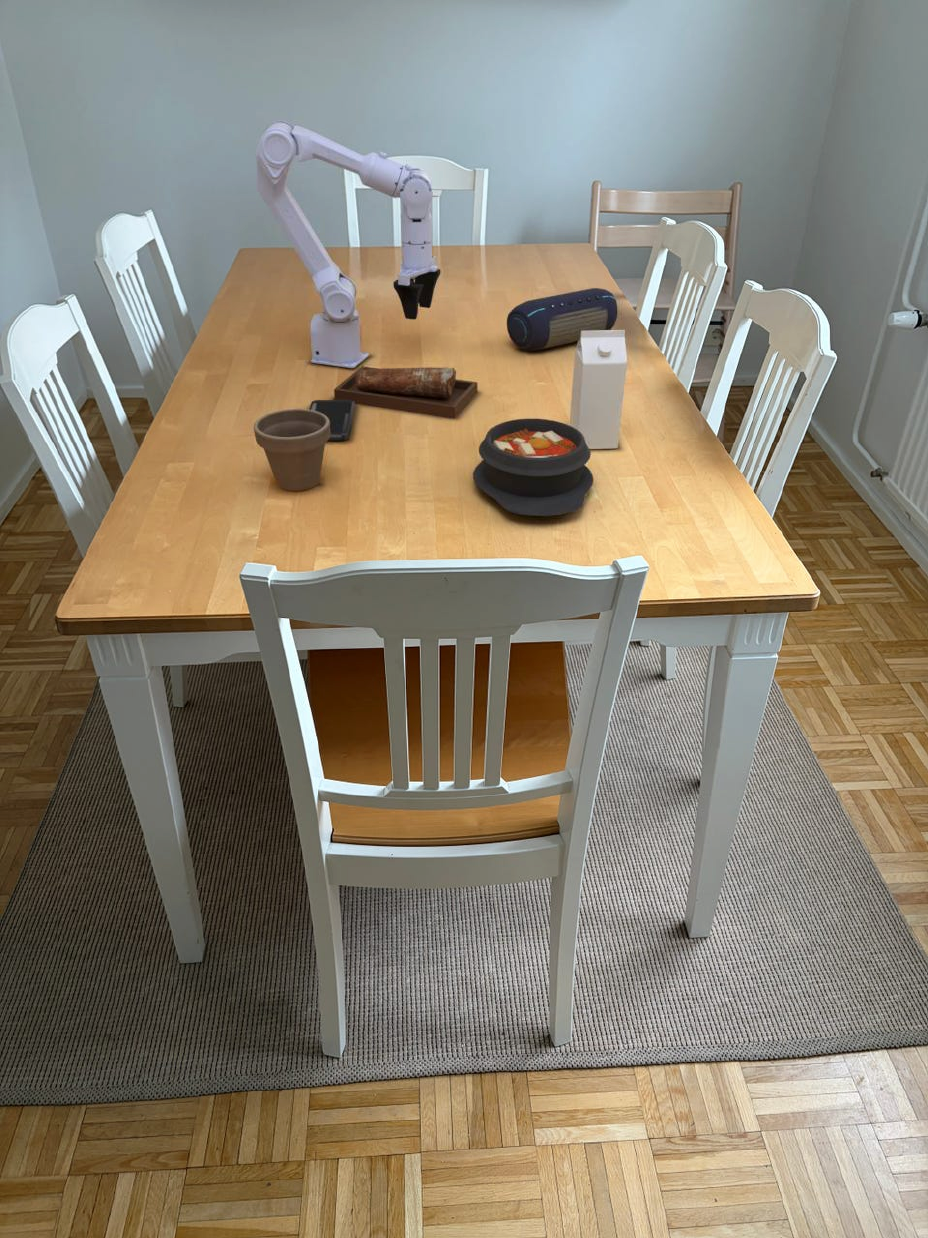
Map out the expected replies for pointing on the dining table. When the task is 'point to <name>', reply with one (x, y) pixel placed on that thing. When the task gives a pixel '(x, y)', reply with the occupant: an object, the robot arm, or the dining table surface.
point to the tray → (409, 398)
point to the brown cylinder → (408, 381)
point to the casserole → (535, 467)
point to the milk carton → (599, 387)
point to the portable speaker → (561, 318)
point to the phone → (336, 416)
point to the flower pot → (294, 446)
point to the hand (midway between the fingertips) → (418, 312)
